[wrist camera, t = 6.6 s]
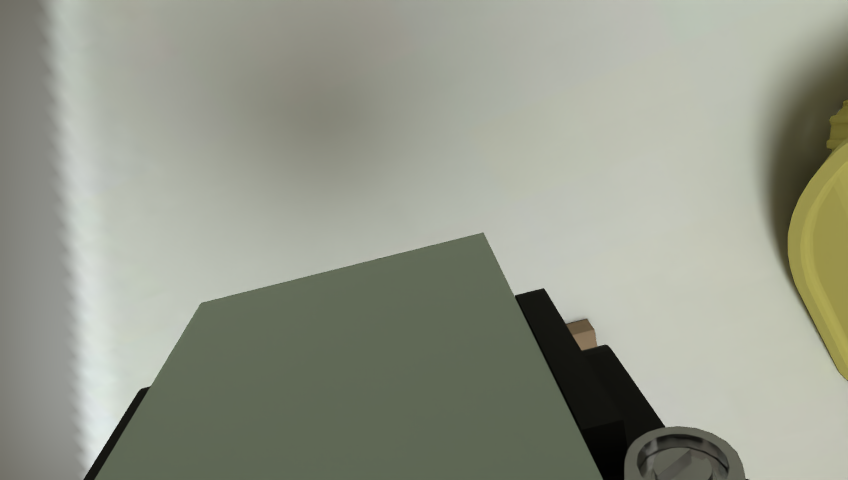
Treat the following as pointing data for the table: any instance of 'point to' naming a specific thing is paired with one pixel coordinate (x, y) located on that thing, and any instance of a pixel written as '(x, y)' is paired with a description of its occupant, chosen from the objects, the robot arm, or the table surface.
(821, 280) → the plastic component
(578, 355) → the robot arm
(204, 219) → the table surface
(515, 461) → the sage green box
